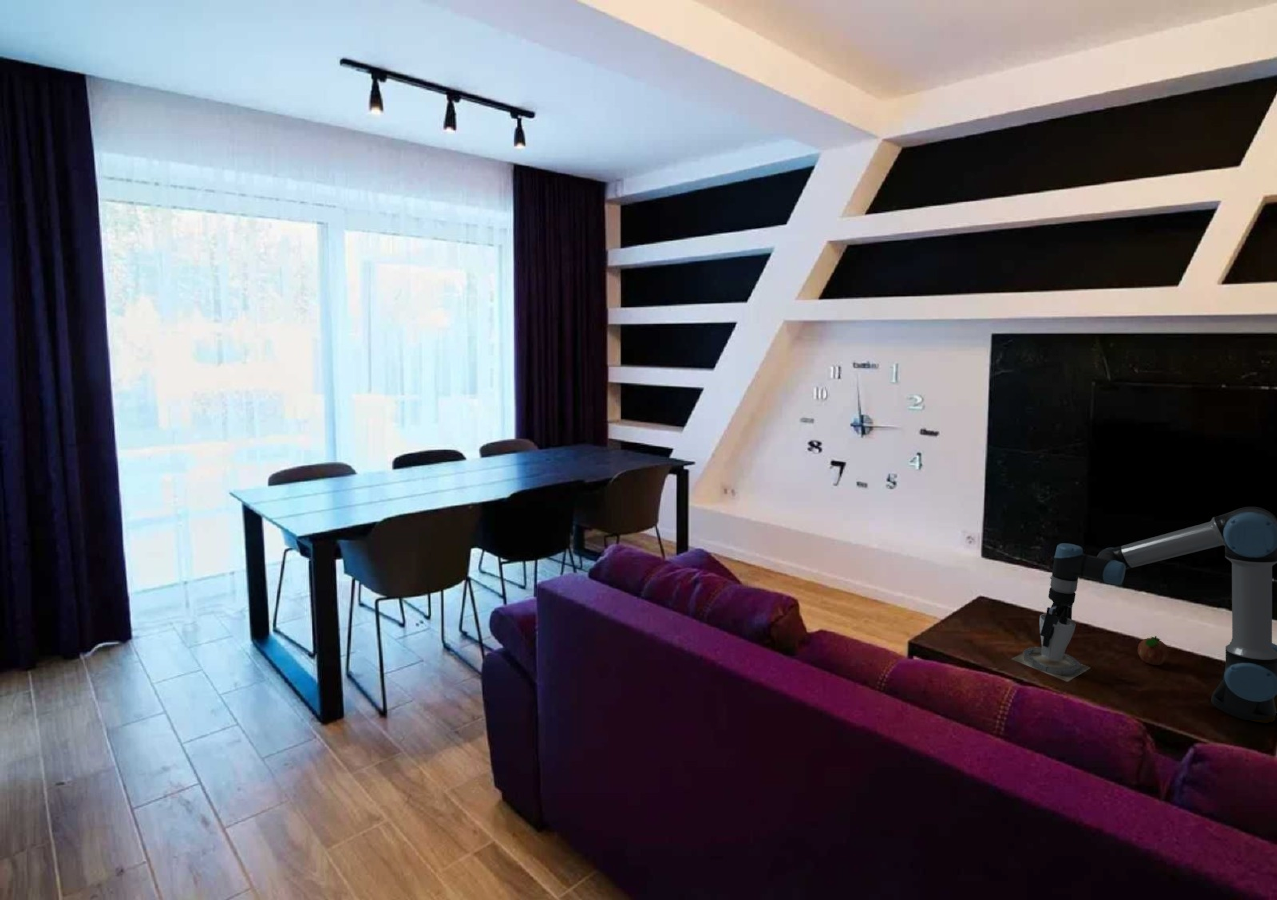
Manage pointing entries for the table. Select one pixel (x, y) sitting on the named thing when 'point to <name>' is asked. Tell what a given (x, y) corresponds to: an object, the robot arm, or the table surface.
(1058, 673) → the ring collar
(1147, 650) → the fruit
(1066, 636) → the cup
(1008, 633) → the table surface
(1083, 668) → the board
